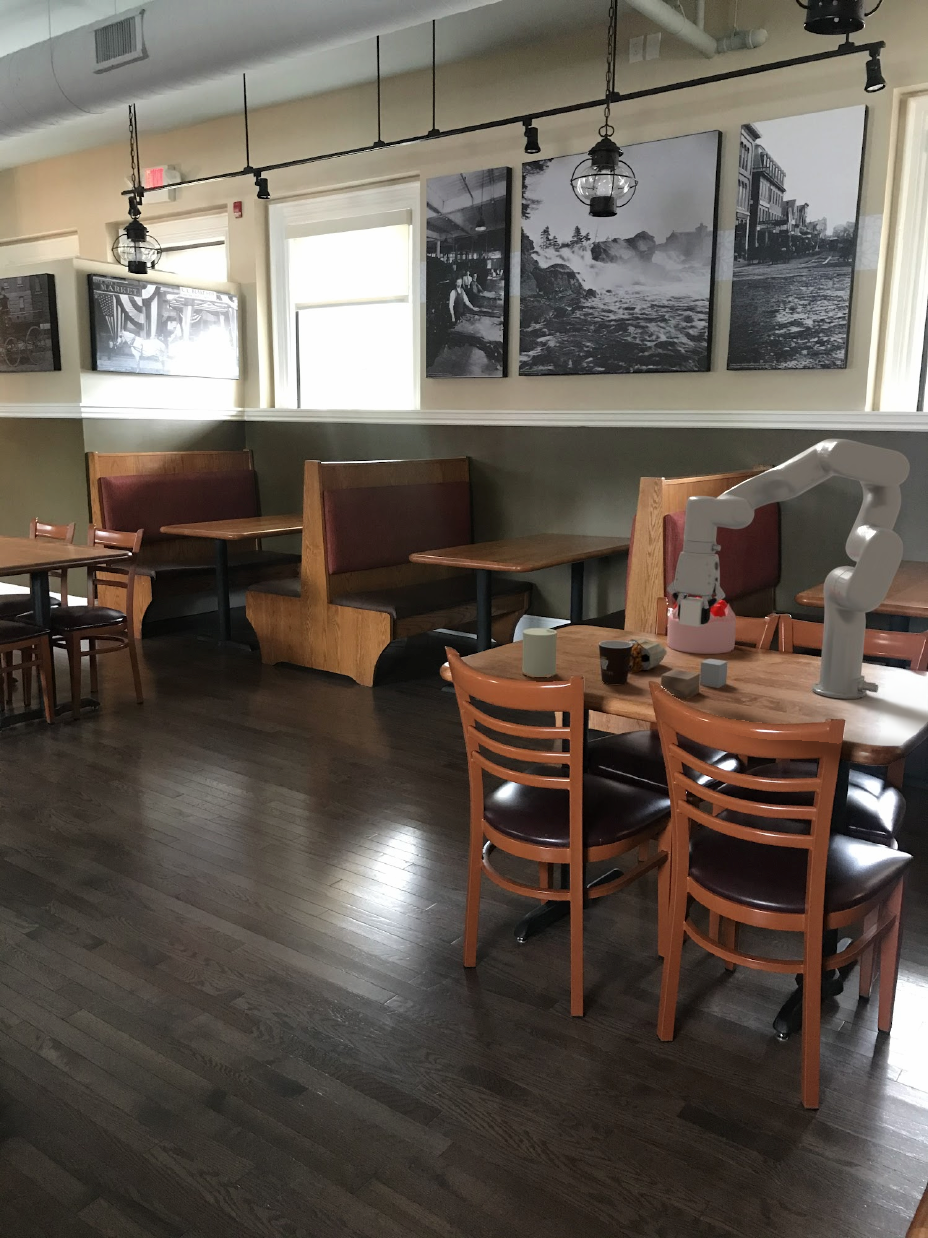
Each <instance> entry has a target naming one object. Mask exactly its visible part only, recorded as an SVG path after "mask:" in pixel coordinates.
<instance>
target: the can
mask: <svg viewBox="0 0 928 1238" xmlns="http://www.w3.org/2000/svg"><path fill="white" fill-rule="evenodd" d="M557 631H558V630H555V629H551V628H548V627H547V628H546V627H531V628H526V629H523V631H522V670H521V672H522V671H523V672H524V673H527V674H529V675H534V676H547V675H554V674H556V675H557V666H556V665H557V641H558V640H557V635H558V632H557Z"/></svg>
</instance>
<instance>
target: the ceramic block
mask: <svg viewBox="0 0 928 1238" xmlns="http://www.w3.org/2000/svg"><path fill="white" fill-rule="evenodd" d="M703 606H704V605H703V600H702V599H699V598H696V597H693V596H692V597H691V596H689V597H687V598H685V599H682V600H681V608H680V621H679V624H683V625H690V626H696V627H700V626H703V624H701V612H702V608H703ZM706 624H707V623H706ZM704 625H705V624H704Z"/></svg>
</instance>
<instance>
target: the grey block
mask: <svg viewBox="0 0 928 1238" xmlns="http://www.w3.org/2000/svg"><path fill="white" fill-rule="evenodd" d="M728 663H729V662H728V661H727V660H721V659H714V658H707V659H705V660H703V661H701V662H700V672H699V674H700V681H699V686H704V687H705V686H706V687H709V688H717V689H719V688H722V687H723V686H725V685H727V676H728V674H727V673H728Z"/></svg>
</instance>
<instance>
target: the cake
mask: <svg viewBox="0 0 928 1238" xmlns="http://www.w3.org/2000/svg"><path fill="white" fill-rule="evenodd" d="M695 598H699V599H702V596H697V597H695ZM672 608H673V609H672V610H671V613H670V614H669V615H668V619H667V620H668V621H667V637H666V638H667V641H666V642H667V643H666V645H667V646H668V647H669V648H670V649H671V650H674V651H679V652H681V653H688V654H699V655H717V654H718V655H719V654H724V653H725V654H727V653H730V652H732V651H733V650H734V648H735V643H736V624H737V619H736V614H735V612H734V611H733V610H732V608H731V606H730V603H727V602H726V600H724V599H721V600H719V601H718V602H717V603H716V604H714V605H713V606H712V607H711V611H710V620H709V621H708V623H707V624H705V625H703V626H700V627H696V626H690V625H683V624H679V617H678V604H677V601H676V602H675V604H674V605H673V607H672ZM731 650H732V651H731Z"/></svg>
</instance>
